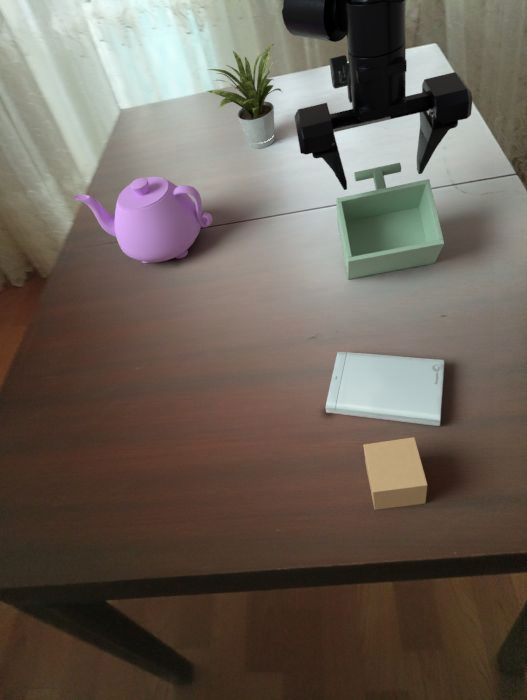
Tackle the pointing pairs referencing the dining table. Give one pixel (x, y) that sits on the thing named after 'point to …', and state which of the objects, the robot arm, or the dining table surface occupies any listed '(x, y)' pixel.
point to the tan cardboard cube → (395, 473)
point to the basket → (388, 225)
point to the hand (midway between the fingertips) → (381, 180)
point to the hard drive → (387, 388)
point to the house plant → (252, 100)
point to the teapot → (153, 219)
